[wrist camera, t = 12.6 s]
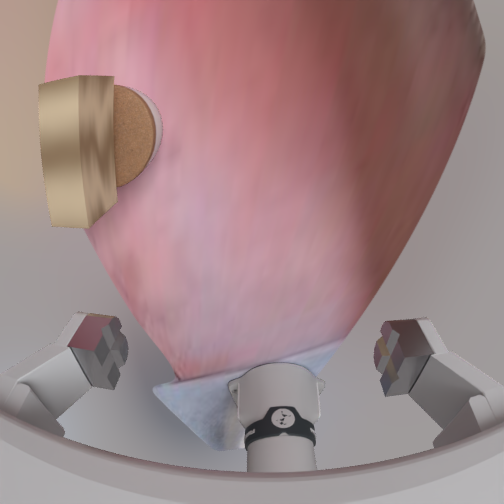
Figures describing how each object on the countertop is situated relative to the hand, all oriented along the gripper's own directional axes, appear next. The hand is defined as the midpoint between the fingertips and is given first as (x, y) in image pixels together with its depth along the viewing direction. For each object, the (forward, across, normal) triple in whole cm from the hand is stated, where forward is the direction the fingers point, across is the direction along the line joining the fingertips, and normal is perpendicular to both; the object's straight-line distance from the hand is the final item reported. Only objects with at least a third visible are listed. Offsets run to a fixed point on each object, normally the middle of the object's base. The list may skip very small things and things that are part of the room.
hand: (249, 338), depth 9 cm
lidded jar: (+28, +15, -4) cm, 32 cm away
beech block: (+19, +15, -4) cm, 24 cm away
